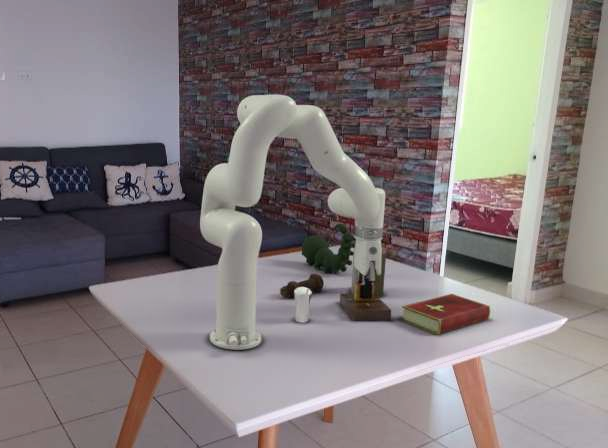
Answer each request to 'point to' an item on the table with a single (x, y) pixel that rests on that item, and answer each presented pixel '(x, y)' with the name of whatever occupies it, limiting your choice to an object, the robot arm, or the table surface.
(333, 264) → the toy figurine
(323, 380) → the table surface
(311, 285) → the bolt
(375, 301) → the lock plate
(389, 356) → the table surface
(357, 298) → the thumbturn
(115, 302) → the table surface
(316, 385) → the table surface
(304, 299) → the milkshake
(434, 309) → the hardcover book
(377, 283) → the pillar candle
